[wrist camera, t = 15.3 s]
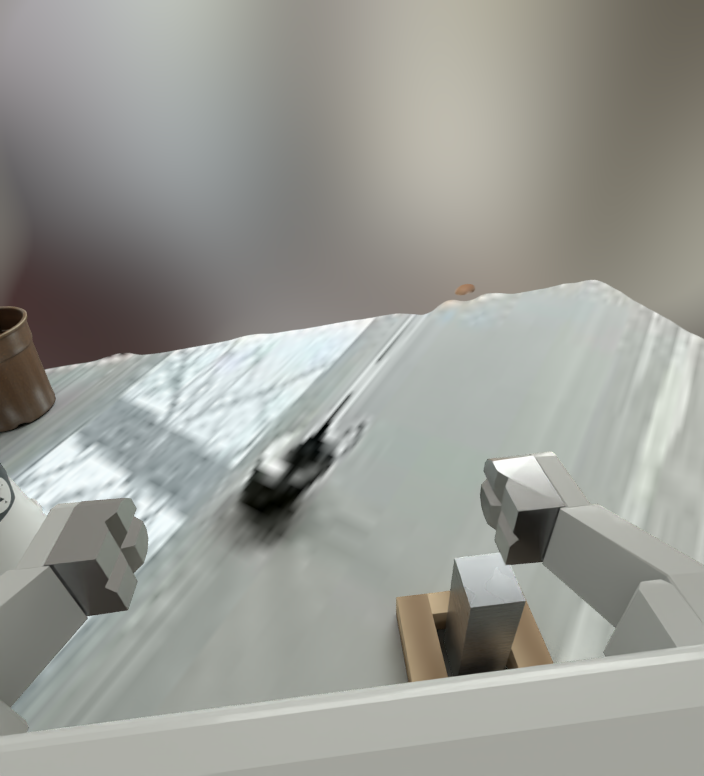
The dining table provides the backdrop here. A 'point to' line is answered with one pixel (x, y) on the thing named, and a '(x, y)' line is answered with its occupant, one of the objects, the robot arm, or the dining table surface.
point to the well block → (430, 614)
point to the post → (482, 614)
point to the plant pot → (20, 373)
